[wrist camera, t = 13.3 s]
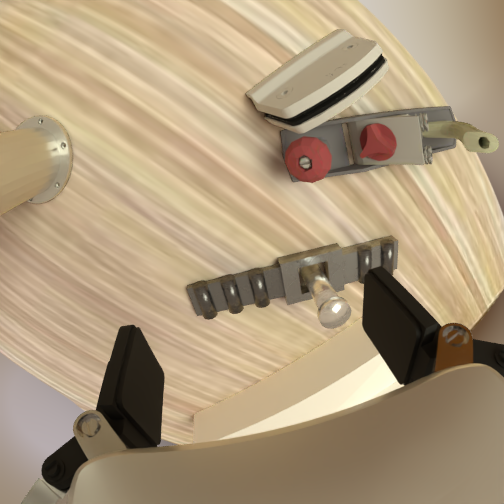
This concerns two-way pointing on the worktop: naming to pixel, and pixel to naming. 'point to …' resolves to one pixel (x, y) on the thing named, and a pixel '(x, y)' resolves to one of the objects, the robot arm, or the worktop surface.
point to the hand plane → (379, 142)
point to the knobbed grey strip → (292, 277)
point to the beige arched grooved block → (320, 81)
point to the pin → (325, 298)
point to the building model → (302, 389)
